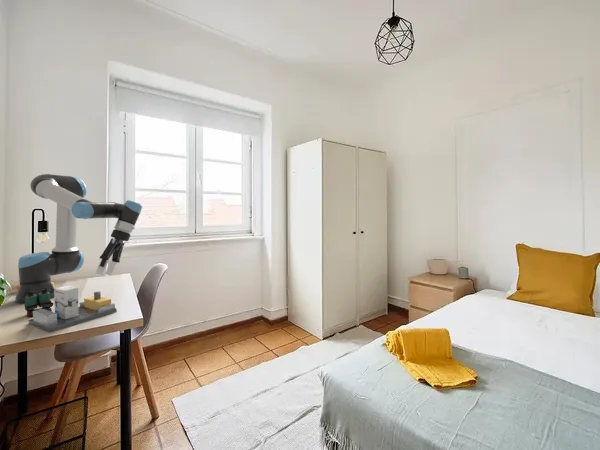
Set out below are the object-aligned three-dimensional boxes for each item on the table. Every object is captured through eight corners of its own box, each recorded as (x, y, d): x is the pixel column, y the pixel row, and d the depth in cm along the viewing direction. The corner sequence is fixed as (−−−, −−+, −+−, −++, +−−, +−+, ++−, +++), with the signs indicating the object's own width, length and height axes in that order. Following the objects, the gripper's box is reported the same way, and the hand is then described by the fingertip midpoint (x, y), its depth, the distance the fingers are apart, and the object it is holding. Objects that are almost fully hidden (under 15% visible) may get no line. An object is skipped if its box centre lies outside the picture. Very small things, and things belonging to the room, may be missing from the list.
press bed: (28, 323, 110) (27, 310, 109) (94, 305, 131) (94, 294, 130) (49, 332, 101) (48, 317, 101) (116, 311, 122) (116, 299, 122)
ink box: (54, 316, 113) (52, 288, 113) (68, 312, 118) (67, 285, 117) (65, 319, 110) (64, 290, 109) (80, 315, 114) (78, 287, 114)
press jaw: (84, 306, 124) (83, 291, 124) (96, 303, 129) (96, 289, 128) (99, 311, 119) (98, 295, 118) (111, 307, 123) (110, 292, 123)
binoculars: (27, 296, 113) (22, 290, 119) (28, 321, 114) (23, 313, 120) (55, 291, 120) (49, 285, 126) (56, 314, 122) (50, 307, 127)
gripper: (124, 229, 122) (104, 276, 117) (136, 237, 145) (119, 276, 140) (105, 224, 120) (84, 271, 114) (120, 233, 143) (103, 272, 137)
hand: (103, 274), depth 127 cm, fingers open, 13 cm apart
